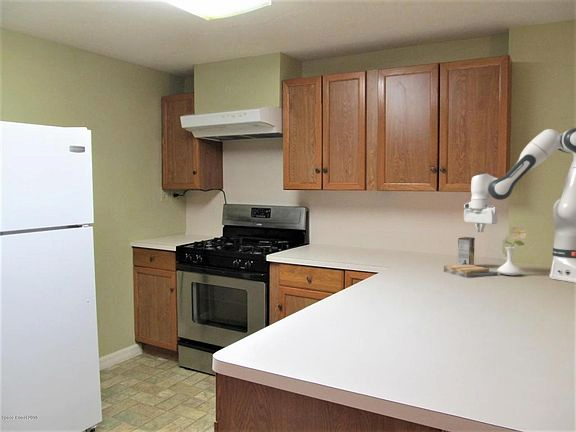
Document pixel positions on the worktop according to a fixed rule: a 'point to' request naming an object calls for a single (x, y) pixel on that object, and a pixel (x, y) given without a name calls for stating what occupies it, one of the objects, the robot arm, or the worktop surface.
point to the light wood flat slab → (472, 268)
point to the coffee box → (466, 250)
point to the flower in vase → (509, 266)
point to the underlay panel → (491, 273)
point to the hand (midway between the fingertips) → (480, 232)
